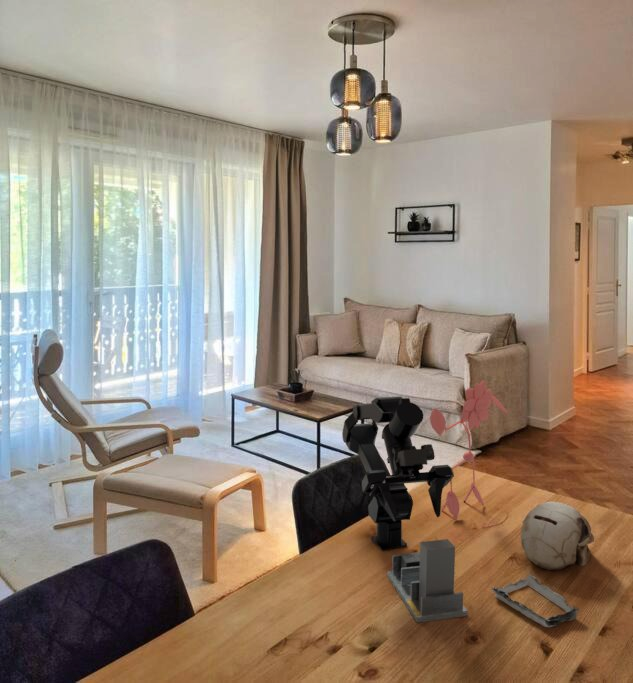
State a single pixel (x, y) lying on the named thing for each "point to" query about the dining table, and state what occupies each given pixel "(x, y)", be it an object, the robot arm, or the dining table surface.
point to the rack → (408, 589)
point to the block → (436, 568)
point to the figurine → (474, 413)
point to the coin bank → (556, 536)
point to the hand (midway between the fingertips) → (417, 518)
